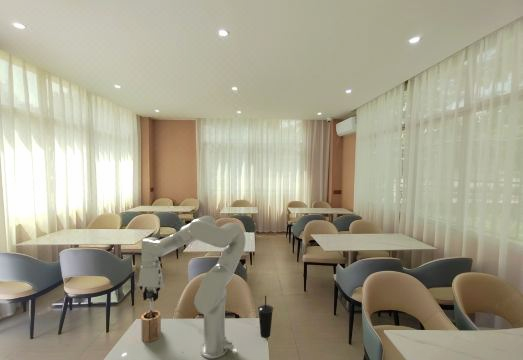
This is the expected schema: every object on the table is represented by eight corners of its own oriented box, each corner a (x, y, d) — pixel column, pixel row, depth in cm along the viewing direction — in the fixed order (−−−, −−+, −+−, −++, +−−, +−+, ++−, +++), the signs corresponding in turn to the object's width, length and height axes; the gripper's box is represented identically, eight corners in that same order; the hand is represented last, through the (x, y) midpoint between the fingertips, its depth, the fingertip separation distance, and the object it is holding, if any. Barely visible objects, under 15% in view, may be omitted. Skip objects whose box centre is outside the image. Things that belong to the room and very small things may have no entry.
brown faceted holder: (165, 329, 135) (165, 309, 134) (154, 343, 125) (154, 320, 124) (150, 328, 136) (150, 307, 136) (138, 341, 126) (137, 319, 125)
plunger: (158, 319, 131) (158, 289, 131) (152, 325, 126) (152, 293, 126) (149, 318, 132) (148, 288, 131) (143, 324, 127) (142, 293, 126)
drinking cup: (271, 340, 127) (271, 300, 126) (256, 338, 128) (256, 298, 127) (274, 331, 134) (274, 293, 133) (259, 329, 136) (259, 291, 135)
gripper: (170, 261, 130) (170, 297, 131) (139, 259, 133) (139, 294, 134) (162, 267, 123) (162, 304, 124) (129, 265, 125) (130, 302, 126)
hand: (150, 299), depth 129 cm, fingers closed on plunger, 4 cm apart
